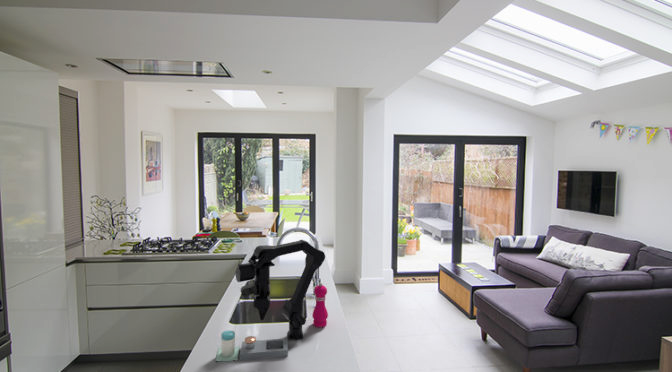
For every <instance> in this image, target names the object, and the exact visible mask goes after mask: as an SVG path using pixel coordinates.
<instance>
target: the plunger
mask: <svg viewBox="0 0 672 372" xmlns="http://www.w3.org/2000/svg"><path fill="white" fill-rule="evenodd" d="M244 341H245V343H246V344H247V349H254V343H255V342H256V341H257V337H256V336H254V335H253V336H252V335H249V336H247V337H245V338H244Z"/></svg>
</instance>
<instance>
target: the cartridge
mask: <svg viewBox="0 0 672 372" xmlns="http://www.w3.org/2000/svg"><path fill="white" fill-rule="evenodd" d="M220 338H221V339H220V341H221V343H220V344H221V347H220V348H221V355H222V356H223V357H230V356H232V355H234V353H235V347H236V344H235V343H236V342H235V339H236V332H235V331H234V330H225V331H223V332H222V333H221V337H220Z"/></svg>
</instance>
